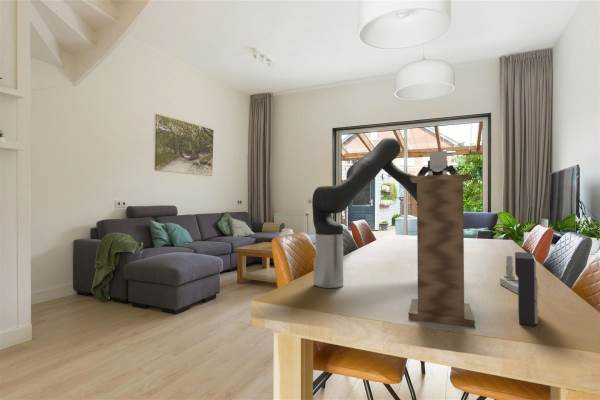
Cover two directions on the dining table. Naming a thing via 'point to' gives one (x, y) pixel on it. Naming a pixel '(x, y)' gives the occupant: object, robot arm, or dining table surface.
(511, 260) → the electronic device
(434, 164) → the white cylinder with crossbar
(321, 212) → the robot arm
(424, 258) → the wooden pedestal stand
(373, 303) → the dining table surface
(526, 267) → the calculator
